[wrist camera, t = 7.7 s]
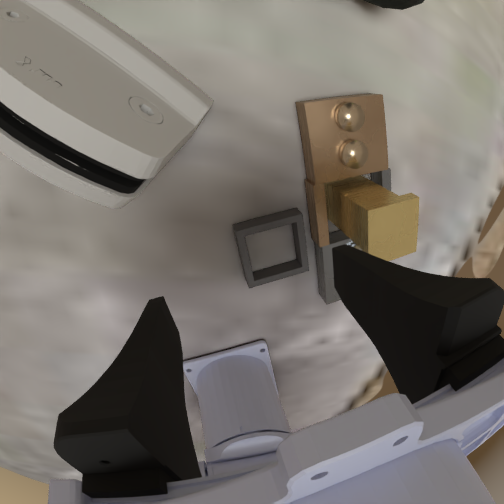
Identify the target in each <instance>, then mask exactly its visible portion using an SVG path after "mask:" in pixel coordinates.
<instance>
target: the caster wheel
mask: <svg viewBox="0 0 504 504" xmlns="http://www.w3.org/2000/svg"><path fill="white" fill-rule="evenodd" d="M364 1H366V2H369V3H372V4H375V5H377V6H380V7H382V8H392V9H401V10H403V9H407V8H409V7H412V6H415V5H418V4H421V3H423V1H424V0H364Z"/></svg>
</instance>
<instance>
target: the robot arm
mask: <svg viewBox="0 0 504 504" xmlns="http://www.w3.org/2000/svg"><path fill="white" fill-rule="evenodd" d="M332 257H333V273H334V287H335V289H336V291H337V293H338V295H339V297H340V298H341V300H342V302H343V303H344V305H345V306H346V308H347V309H348V310H349V312H350V313H351V314H352V316H353V317H354V318H355V320H356V321H357V322H358V324H359V325H360V326H361V327H362V329H363V330H364V331H365V333H366V334H367V335H368V337H369V338H370V339H371V341H372V342H373V344H374V345H375V347H376V349H377V350H378V352H379V354H380V356H381V357H382V359H383V361H384V363H385V365H386V366H387V368H388V370H389V372H390V374H391V376H392V378H393V380H394V382H395V384H396V386H397V389H398V391H399V393H400V394H398V393H393V394H390V395H386V396H383V397H380V398H378V399H376V400H373V401H371V402H369V403H367V404H364V405H362V406H360V407H357V408H355V409H352V410H350V411H348V412H345V413H343V414H340V415H338V416H335V417H332V418H330V419H327V420H324V421H322V422H319V423H316V424H313V425H310V426H308V427H305V428H303V429H301V430H299V431H297V432H294V433H292V431H291V429H290V426H289V424H288V421H287V418H286V416H285V413H284V410H283V407H282V405H281V402H280V399H279V394H278V390H277V386H276V381H275V377H274V373H273V369H272V364H271V360H270V356H269V352H268V347H267V344H266V342H265V341H263V340H261V341H257V342H254V343H250V344H247V345H243V346H240V347H236V348H233V349H229V350H225V351H222V352H218V353H214V354H211V355H207V356H203V357H199V358H195V359H191V360H187V361H184V362H183V353H182V347H181V341H180V335H179V331H178V329H177V327H176V325H175V322H174V320H173V318H172V315H171V313H170V311H169V309H168V306H167V304H166V302H165V299H164V297H163V296H162V297H158V298H154V299H151V300H149V301H148V303H147V305H146V307H145V309H144V311H143V313H142V315H141V317H140V319H139V321H138V322H137V324H136V326H135V328H134V330H133V332H132V334H131V335H130V337H129V339H128V340H127V342H126V344H125V345H124V347H123V349H122V350H121V352H120V353H119V355H118V356H117V357H116V359H115V360H114V361H113V363H112V364H111V366H110V367H109V368H108V369H107V370H106V372H105V373H104V374H103V375H102V376H101V377H100V378H99V379H98V381H97V382H96V383H95V384H94V385H93V386H92V387H91V388H90V389H89V390H88V391H87V392H86V393H85V394H84V395H83V396H81V397H80V398H79V399H78V400H77V401H76V402H74V403H73V404H72V405H71V406H69V407H68V408H67V409H65V410H64V411H63V412H61V413H60V414H59V416H58V421H57V426H56V432H55V439H54V449H55V450H56V452H57V453H58V455H59V456H60V457H61V458H62V459H64V460H65V461H66V462H67V463H69V464H70V465H71V466H73V467H74V468H75V469H77V470H78V471H79V472H81V473H82V474H83V477H82V481H79V480H76V479H50V483H49V495H48V504H496V503H495V501H494V500H493V498H492V496H491V495H490V493H489V492H488V490H487V489H486V487H485V485H484V484H483V482H482V481H481V479H480V477H479V476H478V474H477V473H476V471H475V470H474V468H473V467H472V465H471V464H470V462H469V461H468V459H467V457H466V456H467V455H468V454H470V453H471V452H472V451H473V450H475V449H476V448H477V447H478V446H480V445H481V444H482V443H483V442H485V441H486V440H487V439H488V438H489V437H491V435H493V434H494V433H495V432H496V431H497V430H499V429H500V428H501V427H502V426H503V425H504V339H503V338H502V337H501V336H500V335H499V334H501V329H500V328H499V327H498V326H497V322H498V319H499V317H500V314H501V311H502V308H503V305H504V290H503V289H502V288H501V287H500V286H498V285H497V284H496V283H495V282H494V281H492V280H491V279H490V278H457V277H448V276H441V275H435V274H430V273H425V272H421V271H417V270H413V269H410V268H406V267H403V266H400V265H397V264H394V263H392V262H389V261H386V260H384V259H381V258H379V257H376V256H374V255H371V254H369V253H366V252H364V251H362V250H359V249H357V248H354V247H352V246H349V245H346V244H343V245H340V246H337V247H333V248H332ZM263 348H264V349H263ZM261 349H262V350H261ZM183 371H184V373H185V375H186V377H187V378H188V380H189V382H190V384H191V386H192V388H193V389H194V391H195V393H196V395H197V397H198V401H199V408H200V414H201V421H202V427H203V433H204V439H205V445H206V449H205V450H204V452H205V458H206V463H207V464H206V463H205V461H202V462H198V461H197V457H196V453H195V449H194V445H193V441H192V436H191V432H190V427H189V422H188V417H187V411H186V406H185V395H184V375H183Z"/></svg>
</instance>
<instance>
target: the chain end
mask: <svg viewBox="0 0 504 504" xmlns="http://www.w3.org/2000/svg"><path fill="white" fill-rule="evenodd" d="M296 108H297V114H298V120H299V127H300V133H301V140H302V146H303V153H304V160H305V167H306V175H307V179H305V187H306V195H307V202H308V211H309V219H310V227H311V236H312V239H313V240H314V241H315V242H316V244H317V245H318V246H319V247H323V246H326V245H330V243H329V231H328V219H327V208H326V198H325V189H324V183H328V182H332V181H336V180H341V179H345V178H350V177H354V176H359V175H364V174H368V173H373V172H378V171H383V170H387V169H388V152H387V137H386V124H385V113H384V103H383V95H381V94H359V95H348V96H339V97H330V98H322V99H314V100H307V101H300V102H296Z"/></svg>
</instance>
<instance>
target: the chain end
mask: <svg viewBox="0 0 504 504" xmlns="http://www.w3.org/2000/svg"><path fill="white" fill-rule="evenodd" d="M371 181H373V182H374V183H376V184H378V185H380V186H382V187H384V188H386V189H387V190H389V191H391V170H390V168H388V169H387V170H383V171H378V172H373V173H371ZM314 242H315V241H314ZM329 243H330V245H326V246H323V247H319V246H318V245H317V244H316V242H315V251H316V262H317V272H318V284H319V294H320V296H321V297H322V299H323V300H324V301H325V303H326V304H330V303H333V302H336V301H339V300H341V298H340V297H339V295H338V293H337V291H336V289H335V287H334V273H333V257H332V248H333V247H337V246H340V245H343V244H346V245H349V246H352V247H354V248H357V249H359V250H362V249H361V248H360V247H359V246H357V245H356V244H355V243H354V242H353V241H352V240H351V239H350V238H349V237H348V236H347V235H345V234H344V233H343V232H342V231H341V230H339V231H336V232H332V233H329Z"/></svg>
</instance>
